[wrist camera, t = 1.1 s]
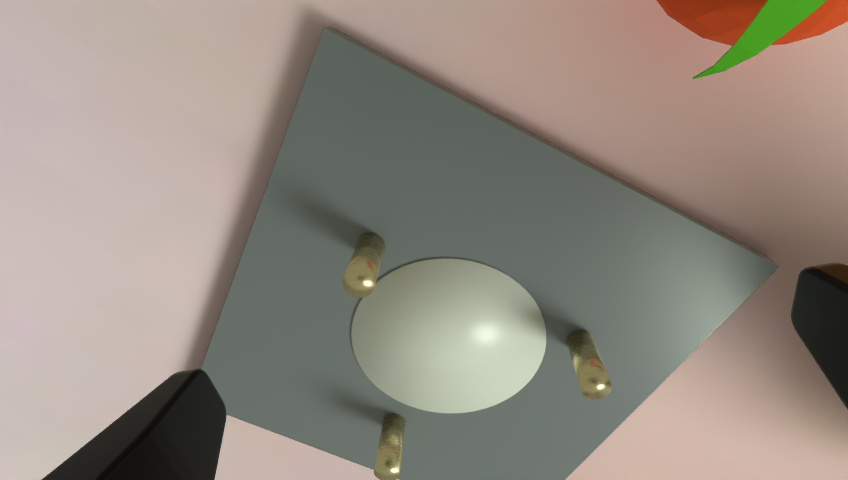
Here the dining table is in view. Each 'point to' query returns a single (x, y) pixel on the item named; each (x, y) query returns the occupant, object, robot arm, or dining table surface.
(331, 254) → the nest plate
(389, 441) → the brass pins
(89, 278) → the dining table surface
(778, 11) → the clementine
